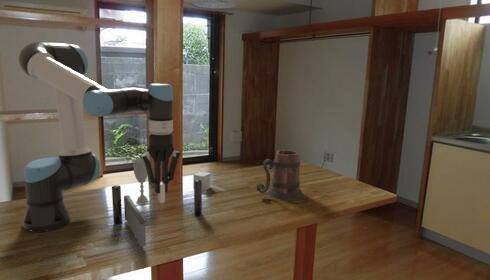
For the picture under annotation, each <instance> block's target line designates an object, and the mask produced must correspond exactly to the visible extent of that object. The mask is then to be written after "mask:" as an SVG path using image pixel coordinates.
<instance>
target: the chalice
mask: <svg viewBox="0 0 490 280" xmlns="http://www.w3.org/2000/svg"><path fill="white" fill-rule="evenodd" d="M132 164H133V173H134V176H135V178H136V181H137V182H138V183H140V185H139V188H140V190H139V192H140V195H139V196H138V197H137V199H136V204H138V205H145V204H148V203H149V200H148V197H147V196H146V195H144V192H145V190H144V188H145V186H144V183H145V182H146V181H147V178H148V174H147V170H146V167H145V163H144V161H143V159H142V158H138V159H134V160H132Z"/></svg>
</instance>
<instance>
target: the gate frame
mask: <svg viewBox="0 0 490 280" xmlns="http://www.w3.org/2000/svg"><path fill="white" fill-rule="evenodd" d="M121 191H122V187H121V185H112V186H111V195H112V196H111V198H112V199H111V200H112V213H113V214H112V215H113V219H112V221H113V224H114V225H121V224H122V223H123V211H122V192H121ZM202 200H203V191H202V180H194V189H193V215H194V216H195V217H200V216H202V215H203V213H202V212H203V207H202V206H203V205H202V204H203V203H202V202H203V201H202Z"/></svg>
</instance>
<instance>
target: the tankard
mask: <svg viewBox="0 0 490 280" xmlns="http://www.w3.org/2000/svg"><path fill="white" fill-rule="evenodd" d="M267 164H268V165H267ZM262 165H263V171H265V174H266V181H265V185H264V184H263V183H261V182H260V183H257V185H256V190H257V191H258V193H260V194H265V193H267V195H268V196H269V197H270V198H273V199H276V200H280V201H297V200H300V199H302V198H303V197H304V193H303V192H302V190H301V189H300V186H301V181H300V165H301V160H300V155H299V152H298V151H294V150H288V149H280V150H277V151H276V152H275V156H274V159H273V160H272V159H271V158H270V159H269V158H266V159H264V161H263V162H262ZM272 169H273V174H272V179H271V174H270V171H271V170H272ZM269 170H270V171H269ZM270 183H271V185H272V186H271V187H270ZM269 187H270V189H269Z"/></svg>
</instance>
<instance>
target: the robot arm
mask: <svg viewBox="0 0 490 280" xmlns="http://www.w3.org/2000/svg"><path fill="white" fill-rule="evenodd" d="M18 64H19V66H20V69H21V70H22V71H23V72H24V73H25V74H26V75H28V76H29V77H31V78H32V79H34V80H35V81H36V80H37V81H43V82H44V83H47V84H49V85H51V86H52V87H53V88H54V89H53V90H54V95H55V103H56V104H55V105H56V111H57V118H58V127H59V134H60V141H61V148H62V149H61V150H60V151H59V153H58V157H55V156H54V157H51V156H50V157H46V158H43V157H42V158H38V159H35V160H32V161H30V162H29V163H27V164H26V165H25V167H24V168H23V181H24V189H25V190H24V192H25V197H26V199H25V200H26V208H25V213H24V215H23V220H22V225H23V229H24V228H25V229H27V230H32V231H44V232H47V231H46V230H50V231H53V230H52V229H54V230H56V228H58V229H60V228H62V226H63V227H65V226H66V225H68V224H69V223H70V222H71V214H70V211H69V208H68V206H67V205H66V202H65V201H64V191H68V190H72V189H74V188H79V187H81V186H86V185H88V184H89V183H90V184H91V183H93V182H94V181H95V180H97V178H99V177H98V176H99V175H100V172H101V164H100V160H99V159H98V156H97V155H96V154H94V153H93V152H92V148H89V147H88V146H87V145H88V144H87V137H86V130H85V121H84V115H83V114H84V112H83V109H84V110H85V111H86V114H87V115H89V116H90V117H106V116H111V115H118V114H119V115H120V114H125V113H135V112H143V113H148V131H149V132H150V133H148V144H149V145H148V149H147V152H146V153H144V154H141V155H140V159H143V161H144V163H145V167H146V170H147V174H148V176H147V178H148V181H149V182H150V183H151V184H154V191H155V193H156V194H157V201H158V202H159V204H163V203H164V204H165V203H166V193H168V191H169V190H168V189H169V188H168V186H169V184H170V182H171V181H173V180H174V178H175V173H176V169H177V165H178V160H179V159H180V157H181V152H180V151H178V150H176V149H175V146H174V133H172V132H174V119H173V118H174V117H173V116H174V114H173V113H174V93H173V92H174V91H173V89H174V88H173V86H172V85H171V84H169V83H149V84H148V88H141V87H140V88H139V87H134V86H133V87H132V86H127V87H123V88H116V89H115V88H113V89H112V88H111V89H109V88H107V87H104V86H102V85H101V84H99V83H97V82H95V81H93V80H91V79H89V78H88V77H86V76H84V75H85V74H86V73H87V72H88V69H89V59H88V57H87V54H86V53H85V51H84V50H83V49H82V48H81V47H80V46H79V45H76V44H70V43H66V42H65V43H63V42H62V43H61V42H45V41H35V42H34V41H33V42H31V43H28V44H26V45H24V46H23V47H22V48H21V49H20V51H19V54H18ZM151 158H152V159H153V162H154V163H153V166H154V172H153V168H152V164H151V162H150V159H151ZM170 158H171V159H170ZM169 159H170V163H169ZM67 223H68V224H67ZM64 225H65V226H64ZM59 227H60V228H59ZM25 229H24V230H25ZM27 230H26V231H27Z"/></svg>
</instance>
